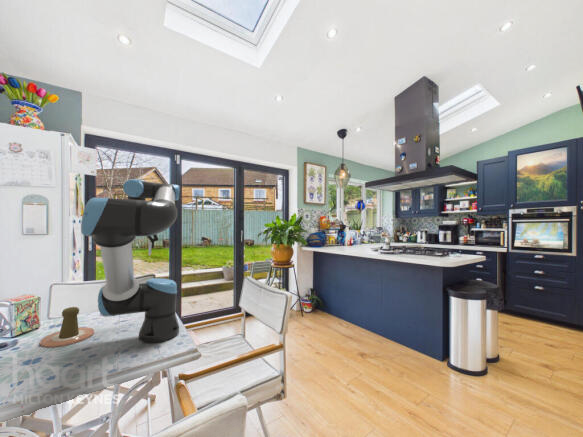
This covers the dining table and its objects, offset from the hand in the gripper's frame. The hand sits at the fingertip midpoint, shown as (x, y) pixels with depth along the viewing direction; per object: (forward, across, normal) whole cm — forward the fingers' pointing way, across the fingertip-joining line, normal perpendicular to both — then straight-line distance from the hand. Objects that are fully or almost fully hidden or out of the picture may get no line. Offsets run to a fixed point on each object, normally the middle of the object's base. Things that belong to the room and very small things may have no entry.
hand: (133, 255), depth 114 cm
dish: (+32, +21, +3) cm, 38 cm away
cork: (+31, +21, +3) cm, 38 cm away
